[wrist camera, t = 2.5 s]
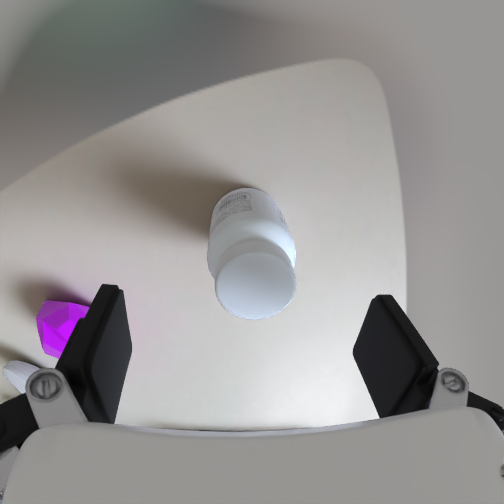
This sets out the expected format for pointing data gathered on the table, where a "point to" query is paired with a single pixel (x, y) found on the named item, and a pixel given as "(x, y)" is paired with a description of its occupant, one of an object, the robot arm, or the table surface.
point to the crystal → (57, 324)
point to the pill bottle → (251, 255)
